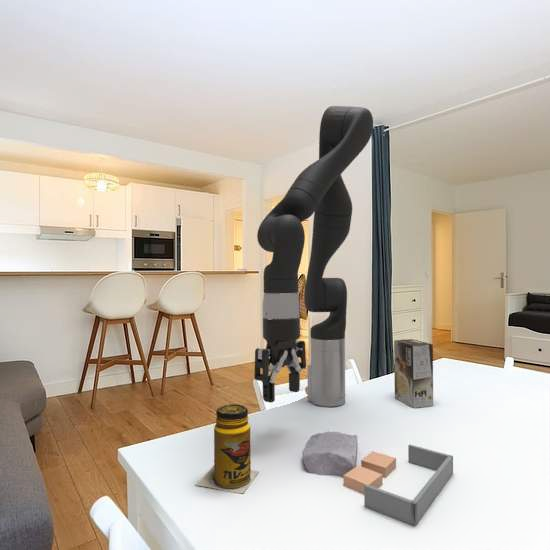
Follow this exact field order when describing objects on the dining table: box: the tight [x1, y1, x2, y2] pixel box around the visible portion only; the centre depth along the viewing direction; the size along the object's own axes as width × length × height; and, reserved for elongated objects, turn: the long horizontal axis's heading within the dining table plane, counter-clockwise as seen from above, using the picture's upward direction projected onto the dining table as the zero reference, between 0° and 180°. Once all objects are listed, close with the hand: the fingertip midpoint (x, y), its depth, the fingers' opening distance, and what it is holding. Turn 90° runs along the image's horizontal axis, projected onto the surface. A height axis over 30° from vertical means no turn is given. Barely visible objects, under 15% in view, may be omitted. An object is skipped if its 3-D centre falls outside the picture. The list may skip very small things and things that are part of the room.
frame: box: [363, 444, 454, 527], centre depth 63 cm, size 8×18×3 cm, turn 141°
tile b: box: [360, 451, 397, 478], centre depth 70 cm, size 4×4×2 cm
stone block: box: [302, 431, 359, 477], centre depth 73 cm, size 12×5×10 cm
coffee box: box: [393, 338, 434, 409], centre depth 106 cm, size 9×6×16 cm
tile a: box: [343, 465, 383, 494], centre depth 64 cm, size 4×4×2 cm
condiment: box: [194, 403, 260, 494], centre depth 67 cm, size 7×8×12 cm
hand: (282, 396), depth 80 cm, fingers open, 8 cm apart
